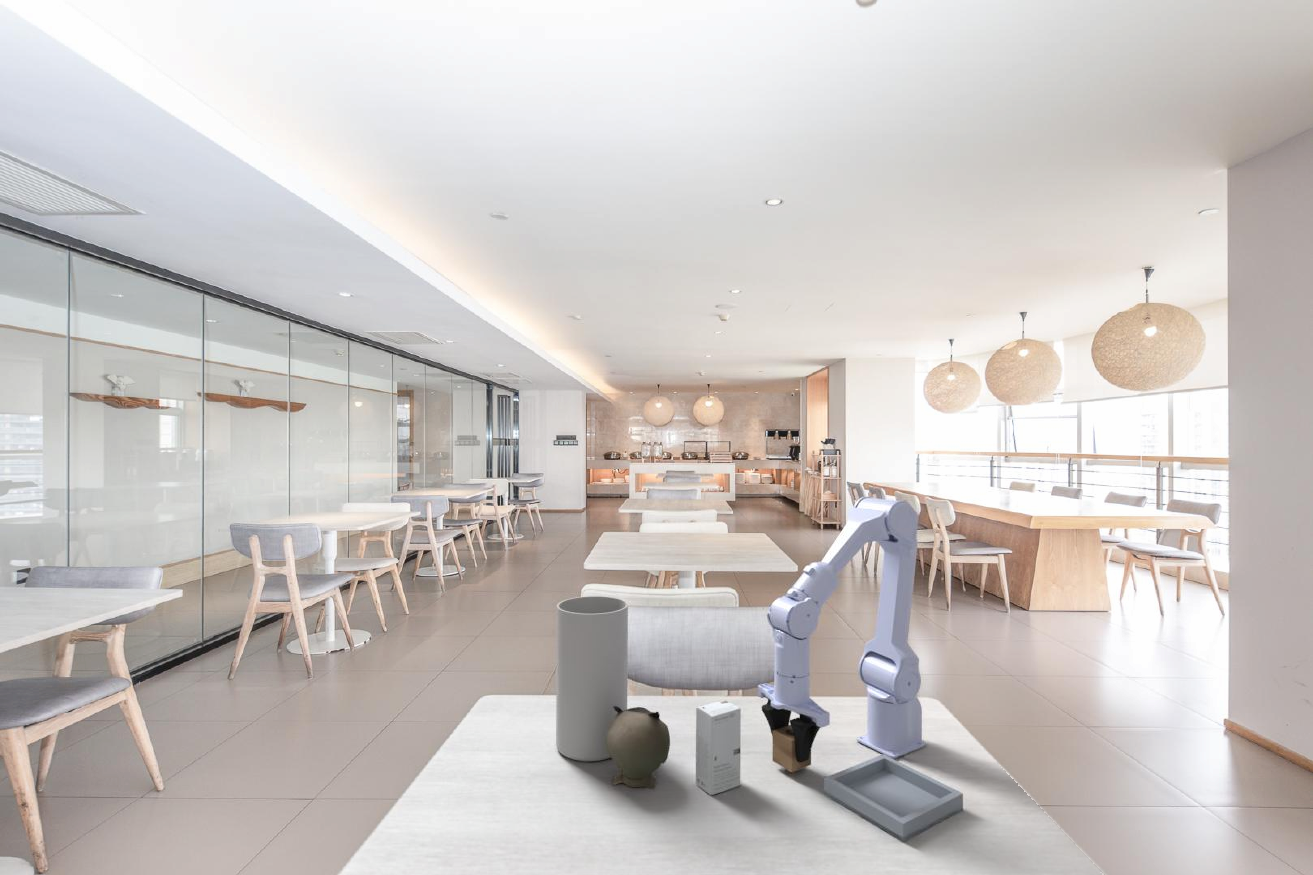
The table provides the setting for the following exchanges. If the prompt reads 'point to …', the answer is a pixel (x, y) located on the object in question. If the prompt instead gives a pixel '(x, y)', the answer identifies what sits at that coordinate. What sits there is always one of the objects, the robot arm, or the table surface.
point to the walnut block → (786, 749)
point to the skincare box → (718, 746)
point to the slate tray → (893, 796)
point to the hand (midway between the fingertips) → (791, 753)
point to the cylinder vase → (590, 673)
